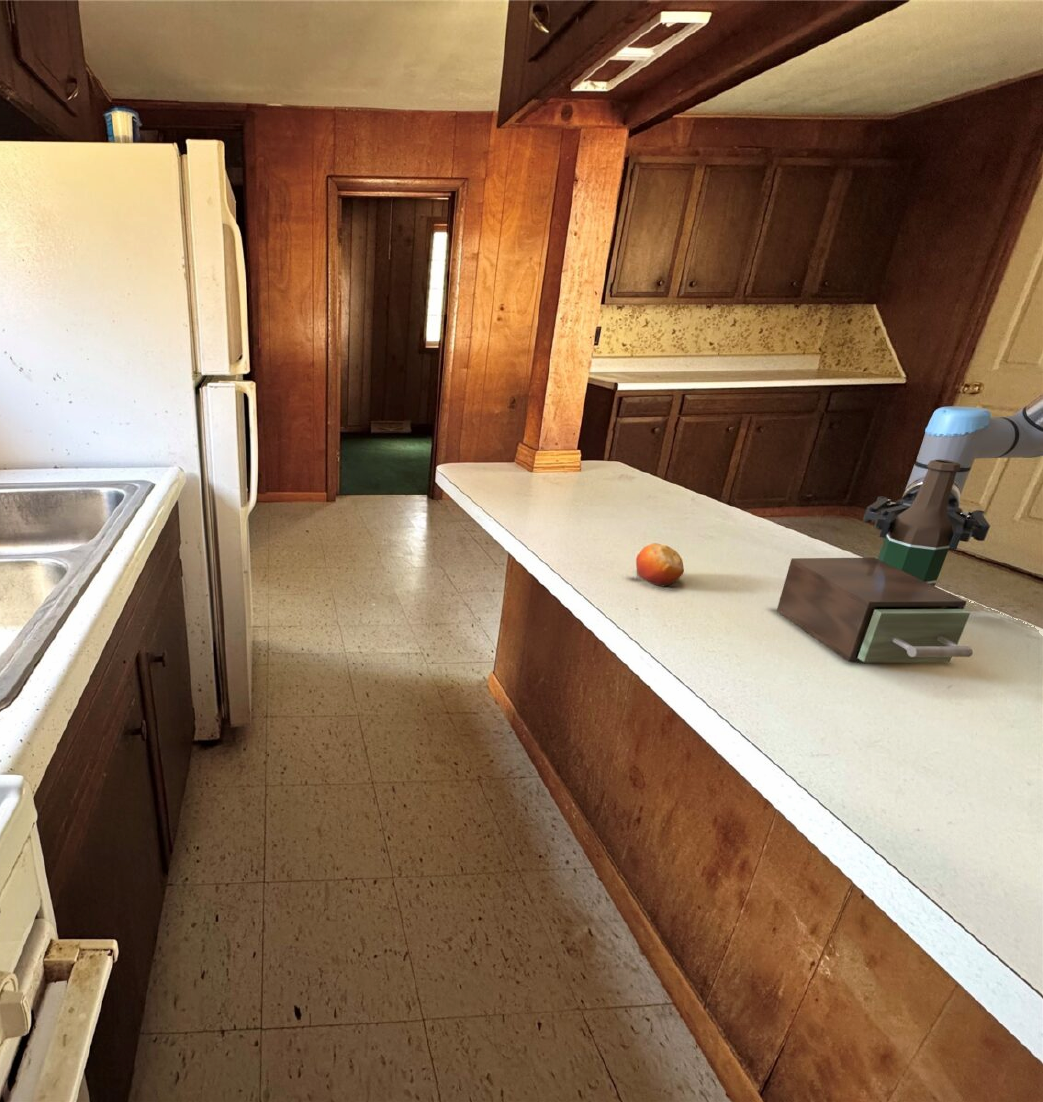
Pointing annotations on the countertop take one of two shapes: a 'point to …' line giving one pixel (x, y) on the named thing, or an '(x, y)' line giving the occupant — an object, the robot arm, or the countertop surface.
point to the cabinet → (850, 598)
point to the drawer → (914, 635)
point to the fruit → (659, 564)
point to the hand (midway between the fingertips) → (919, 535)
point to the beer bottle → (923, 526)
